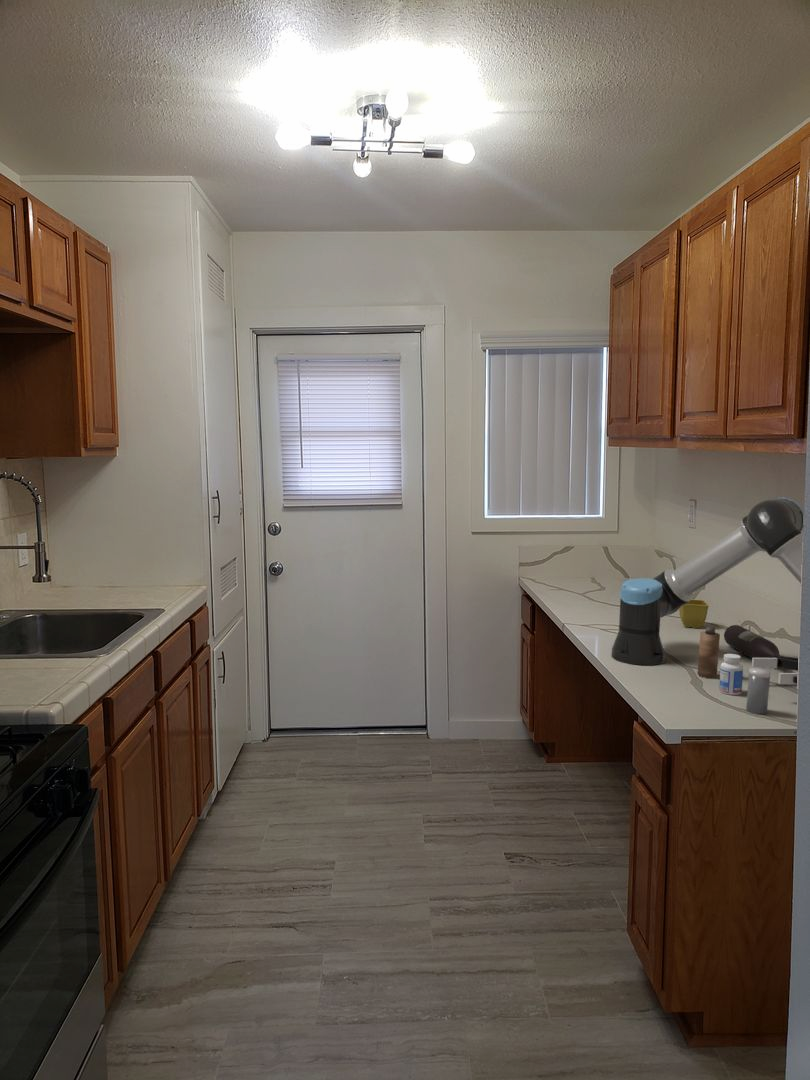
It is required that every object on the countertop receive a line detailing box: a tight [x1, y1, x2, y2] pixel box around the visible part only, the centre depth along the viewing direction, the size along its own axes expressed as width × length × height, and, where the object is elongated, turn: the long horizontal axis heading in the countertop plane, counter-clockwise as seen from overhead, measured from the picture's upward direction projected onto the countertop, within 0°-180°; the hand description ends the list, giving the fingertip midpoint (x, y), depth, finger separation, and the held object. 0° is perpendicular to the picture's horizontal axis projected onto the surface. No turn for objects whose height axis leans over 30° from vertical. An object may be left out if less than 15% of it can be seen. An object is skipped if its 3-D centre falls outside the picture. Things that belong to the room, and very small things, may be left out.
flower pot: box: [678, 599, 709, 629], centre depth 269 cm, size 9×9×9 cm
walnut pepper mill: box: [697, 626, 721, 679], centre depth 211 cm, size 5×5×14 cm
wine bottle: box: [723, 624, 782, 659], centre depth 229 cm, size 7×7×30 cm
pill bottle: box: [718, 653, 744, 696], centre depth 197 cm, size 6×5×10 cm
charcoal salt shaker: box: [745, 667, 771, 715], centre depth 183 cm, size 5×5×10 cm
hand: (765, 670), depth 197 cm, fingers open, 13 cm apart
